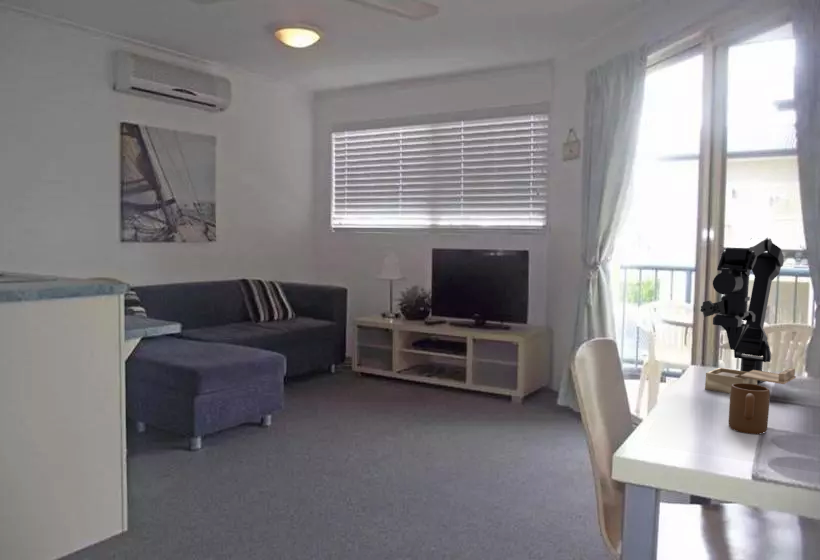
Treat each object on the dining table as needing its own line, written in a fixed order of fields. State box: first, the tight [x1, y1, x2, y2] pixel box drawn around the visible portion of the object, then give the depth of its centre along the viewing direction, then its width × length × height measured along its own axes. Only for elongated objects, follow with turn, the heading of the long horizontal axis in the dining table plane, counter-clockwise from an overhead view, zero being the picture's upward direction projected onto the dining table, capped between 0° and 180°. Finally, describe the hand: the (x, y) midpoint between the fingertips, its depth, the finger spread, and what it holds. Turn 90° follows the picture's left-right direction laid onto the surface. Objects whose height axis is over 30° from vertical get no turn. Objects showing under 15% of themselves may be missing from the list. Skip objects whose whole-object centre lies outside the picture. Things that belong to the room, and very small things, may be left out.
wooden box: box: [704, 367, 758, 394], centre depth 185 cm, size 11×10×4 cm
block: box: [718, 372, 740, 378], centre depth 185 cm, size 4×4×4 cm
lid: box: [740, 367, 796, 385], centre depth 178 cm, size 11×10×2 cm
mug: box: [728, 383, 771, 435], centre depth 144 cm, size 12×8×9 cm, turn 153°
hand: (732, 349), depth 184 cm, fingers closed
